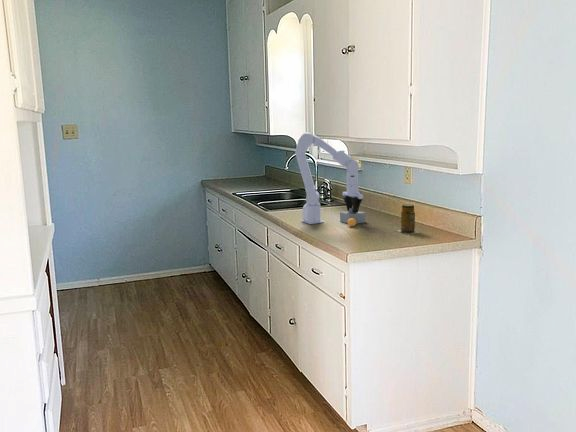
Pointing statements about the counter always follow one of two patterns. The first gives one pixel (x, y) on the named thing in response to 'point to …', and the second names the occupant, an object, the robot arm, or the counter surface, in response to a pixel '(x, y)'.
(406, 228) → the condiment
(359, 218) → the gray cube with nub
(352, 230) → the counter surface
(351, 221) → the ball
